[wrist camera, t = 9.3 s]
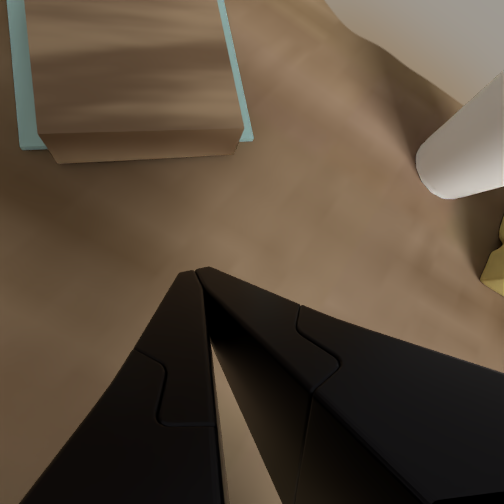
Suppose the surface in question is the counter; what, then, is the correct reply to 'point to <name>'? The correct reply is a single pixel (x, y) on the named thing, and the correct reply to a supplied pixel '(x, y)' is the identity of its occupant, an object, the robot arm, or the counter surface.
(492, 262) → the cheese
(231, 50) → the mat
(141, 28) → the walnut block
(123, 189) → the counter surface
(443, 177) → the foam cup
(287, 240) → the counter surface
